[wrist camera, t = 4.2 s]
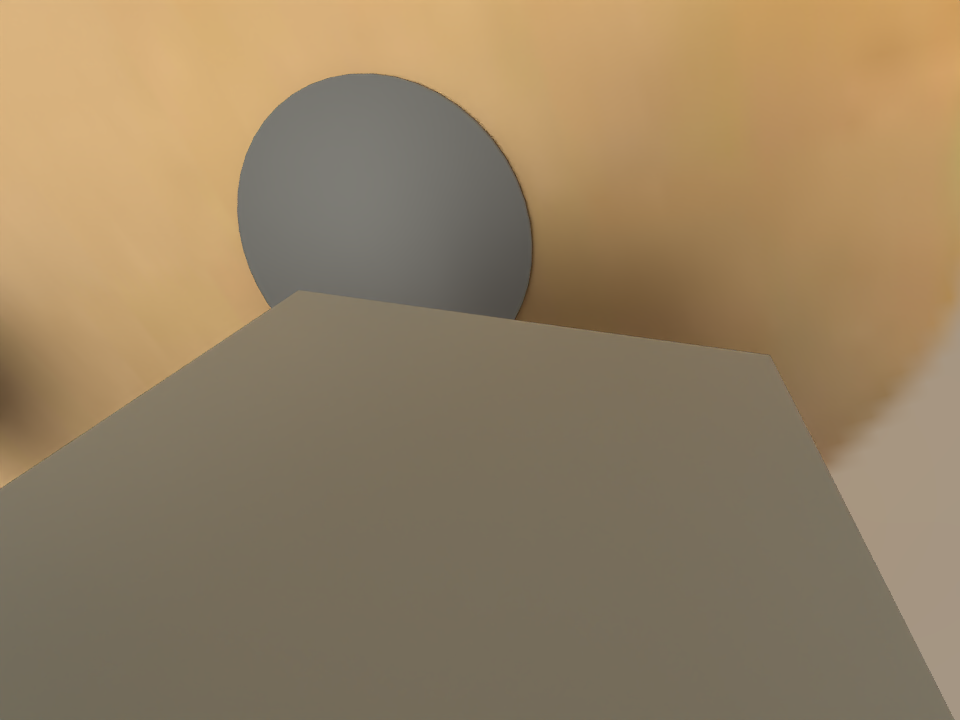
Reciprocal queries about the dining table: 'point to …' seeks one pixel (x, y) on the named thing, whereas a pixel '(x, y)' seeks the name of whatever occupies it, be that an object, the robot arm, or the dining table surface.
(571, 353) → the gray-blue matte cube
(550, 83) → the dining table surface
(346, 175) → the circle
